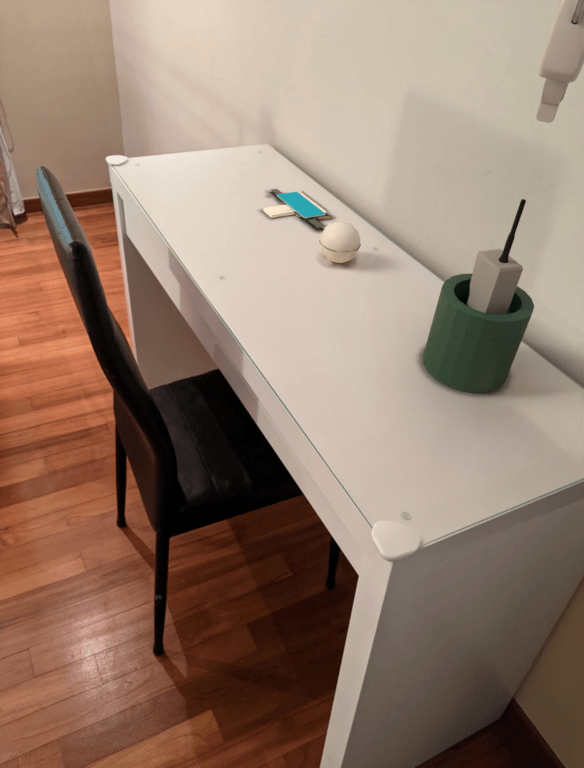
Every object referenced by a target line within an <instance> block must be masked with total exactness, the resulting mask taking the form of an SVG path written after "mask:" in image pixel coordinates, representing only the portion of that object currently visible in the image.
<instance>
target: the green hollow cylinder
mask: <svg viewBox="0 0 584 768" xmlns="http://www.w3.org/2000/svg"><path fill="white" fill-rule="evenodd" d="M472 274H473V273H460V274H456V275H452V276H450V277H449V278H447V279H446V280H445V281H444V282H443V283H442V286H441V288H440V292H439V296H438V300H437V304H436V307H435V311H434V314H433V318H432V321H431V325H430V329H429V333H428V335H427V339H426V343H425V347H424V351H423V356H422V361H423V365H424V367H425V369H426V371H427V372H428V374H429V375H431V376H432V378H434V379H435V380H436V381H438V382H439V383H441V384H443V385H445V386H447V387H449V388H451V389H454V390H457V391H461V392H465V393H472V394H482V393H489V392H493V391H495V390H497V389H499V388H501V387H502V386H503V385H504V384H505V382H506V380H507V379H508V376H509V373H510V371H511V368H512V366H513V363H514V361H515V359H516V357H517V356H516V355H517V354H518V351H519V348H520V345H521V343H522V342H523V341H522V340H523V338H524V336H525V333H526V330H527V328H528V325H529V322H530V320H531V317H532V316H533V312H534V309H535V304H534V301H533V299H532V297H531V296H530V295H529V294H528V293H527V291H525V290H524V289H523V288H521V287H520V286H518V285H517V287H516V290H515V293H514V295H513V298H512V301H511V304H510V306H509V309H508V312H507V314H505V315H495V314H487V313H484V312H481V311H477V310H474V309H472V308H470V307H468V306H466V305H467V302H468V298H469V295H470V282H471V278H472Z"/></svg>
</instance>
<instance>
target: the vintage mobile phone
mask: <svg viewBox="0 0 584 768" xmlns="http://www.w3.org/2000/svg"><path fill="white" fill-rule="evenodd" d="M526 203H527V200H526V199H525V198H521V199H520V202H519V205H518V207H517V211H516V214H515V217H514V219H513V222H512V226H511V229H510V232H509V234H508V236H507V238H506V240H505V244H504V247H503V250H502V248H499V249H498V248H497V249H489V250H480V251H477V254H476V257H475V261H474V265H473V270H472V273H471V274H472V278H471V282H470V295H469V298H468V302H467V305H466V306H468V307H470V308H472V309H474V310H477V311H481V312H484V313H487V314H495V315H505V314H507V312H508V309H509V306H510V304H511V301H512V298H513V295H514V293H515V290H516V287H517V286H518V284H519V281H520V279H521V276H522V273H523V270H524V268H523V265H522V264H520V263H519V262H518V261H516V259H514V258H513V257H511V256H510V253H511V250H512V248H513V244H514V240H515V237H516V233H517V229H518V226H519V223H520V221H521V217H522V215H523V211H524V209H525V205H526Z"/></svg>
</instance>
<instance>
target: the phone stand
mask: <svg viewBox="0 0 584 768" xmlns="http://www.w3.org/2000/svg"><path fill="white" fill-rule="evenodd" d="M269 193H270V194H271V195H272V196H273V197H275V198H276V199H277V200H278V201H279V202H281V204H280V205H273V206H272V205H271V206H266V207H263V208H262V209H263V212H264V213H265V214H266V215H267V216H269V217H270V218H271V219H272V218H280V217H286V216H293V215H295V216H297V217H298V218H300V219H302V220H303V222H305V223H306V224H308V225H309V226H310V227H311V228H312V229H314V230H315V231H316V232H317V231H324V229H325V225H324V224H323V223H322V222H321V221H322V220H328V219H332V215H329V209H327V208H326V207H325V206H323V205H322V204H321V203H319V202H318V201H317V200H315V199H314V198H313V197H311V196H310V195H309V194H308V193H307V192H305V191H304V190H301V192H298V191H290V192H284V193H283V192H282V191H280V190H279V189H278V188H271V189H270V192H269Z"/></svg>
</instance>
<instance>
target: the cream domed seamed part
mask: <svg viewBox="0 0 584 768" xmlns="http://www.w3.org/2000/svg"><path fill="white" fill-rule="evenodd" d="M323 229H324V230H322V232H321V234H320V236H319V237H320V238H319V246H320V251H321V253H322V254H323V256H324V257H325V258H326V259H327V260H328V261H330V262H333V263H335V264H336V263H337V264H344V263H347V262H349V261H351V260H352V259H354V258H355V257H356V255H359V256H360V257H363V258H364V255H363V254H360V253H359V250H360V248H361V237H360V233H359V231H358V230H357V228H356V227H355V226H354V225H353V224H351V223H349V222H347V221H343V220H342V221H341V220H339V221H333V222H331V223H330V224H328V225H326V227H324V228H323Z"/></svg>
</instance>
